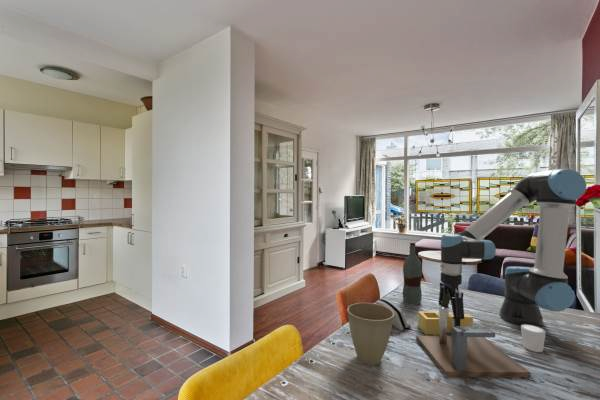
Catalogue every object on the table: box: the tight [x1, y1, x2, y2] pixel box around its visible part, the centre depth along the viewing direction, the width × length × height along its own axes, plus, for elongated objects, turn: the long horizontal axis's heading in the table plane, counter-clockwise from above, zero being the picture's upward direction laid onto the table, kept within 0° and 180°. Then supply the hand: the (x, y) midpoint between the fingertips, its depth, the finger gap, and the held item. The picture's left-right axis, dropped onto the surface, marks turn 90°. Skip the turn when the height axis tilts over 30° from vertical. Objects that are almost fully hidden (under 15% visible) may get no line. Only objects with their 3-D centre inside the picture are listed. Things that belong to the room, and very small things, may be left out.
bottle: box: [402, 242, 423, 306], centre depth 146 cm, size 9×9×30 cm
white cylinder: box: [520, 324, 547, 353], centre depth 102 cm, size 7×7×7 cm
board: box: [415, 335, 531, 378], centre depth 97 cm, size 25×22×2 cm
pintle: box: [438, 305, 448, 344], centre depth 103 cm, size 2×2×14 cm
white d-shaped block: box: [375, 298, 412, 331], centre depth 123 cm, size 17×5×10 cm, turn 17°
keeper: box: [451, 325, 496, 371], centre depth 87 cm, size 11×4×13 cm, turn 90°
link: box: [417, 310, 474, 336], centre depth 116 cm, size 20×8×6 cm, turn 90°
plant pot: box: [347, 302, 394, 366], centre depth 95 cm, size 15×15×16 cm
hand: (450, 329), depth 116 cm, fingers open, 8 cm apart
